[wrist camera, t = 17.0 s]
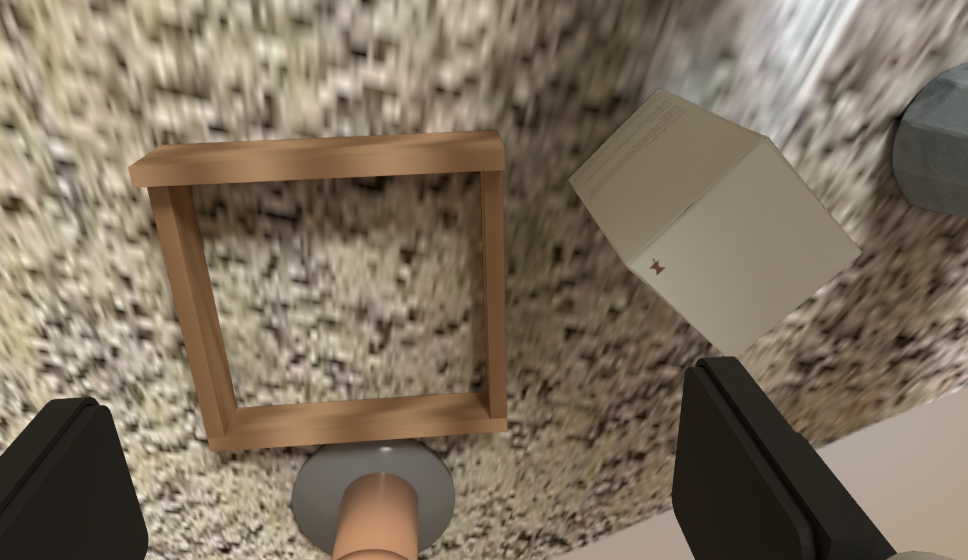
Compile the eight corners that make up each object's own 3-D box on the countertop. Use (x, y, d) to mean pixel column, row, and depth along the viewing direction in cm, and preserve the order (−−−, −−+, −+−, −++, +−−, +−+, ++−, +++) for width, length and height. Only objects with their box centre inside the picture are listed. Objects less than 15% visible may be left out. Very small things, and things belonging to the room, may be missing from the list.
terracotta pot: (421, 464, 46) (420, 558, 38) (426, 532, 48) (426, 632, 41) (330, 471, 45) (312, 567, 38) (341, 539, 48) (325, 641, 41)
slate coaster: (450, 425, 45) (450, 433, 45) (457, 548, 50) (458, 557, 49) (283, 436, 45) (280, 444, 44) (305, 560, 49) (303, 569, 49)
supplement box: (645, 259, 42) (728, 370, 30) (563, 177, 39) (620, 265, 28) (742, 172, 40) (869, 256, 28) (662, 81, 37) (767, 132, 26)
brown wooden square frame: (496, 130, 38) (505, 150, 33) (502, 403, 45) (509, 446, 41) (161, 144, 37) (128, 167, 32) (224, 421, 44) (203, 468, 40)
